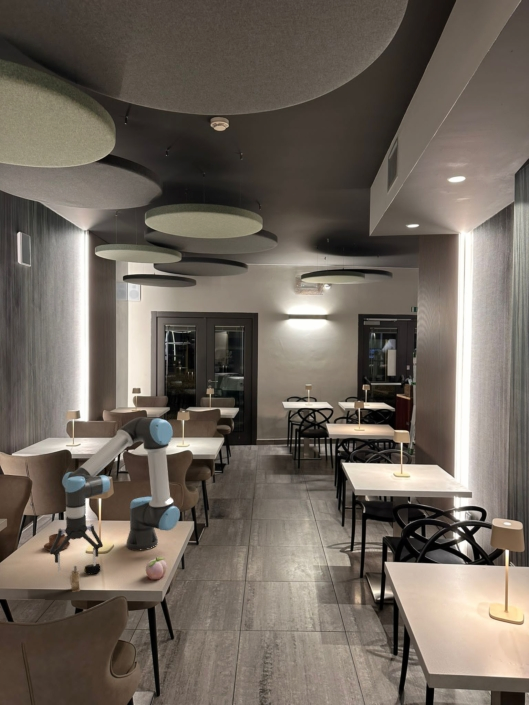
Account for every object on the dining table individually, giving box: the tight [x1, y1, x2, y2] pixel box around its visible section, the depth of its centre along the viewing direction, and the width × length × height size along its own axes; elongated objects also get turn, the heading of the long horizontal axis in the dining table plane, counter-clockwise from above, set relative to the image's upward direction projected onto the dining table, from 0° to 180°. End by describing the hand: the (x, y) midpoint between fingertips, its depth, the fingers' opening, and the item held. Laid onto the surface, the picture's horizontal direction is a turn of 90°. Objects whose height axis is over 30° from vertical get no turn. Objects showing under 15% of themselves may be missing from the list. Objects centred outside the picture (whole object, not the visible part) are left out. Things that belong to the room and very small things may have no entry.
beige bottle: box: [70, 565, 80, 591], centre depth 221 cm, size 3×3×9 cm
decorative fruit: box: [145, 557, 168, 580], centre depth 232 cm, size 9×8×10 cm
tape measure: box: [83, 563, 102, 575], centre depth 238 cm, size 7×7×4 cm
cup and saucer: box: [43, 533, 71, 552], centre depth 268 cm, size 12×12×6 cm
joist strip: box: [69, 574, 81, 593], centre depth 227 cm, size 3×18×1 cm, turn 22°
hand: (77, 567), depth 222 cm, fingers open, 13 cm apart
